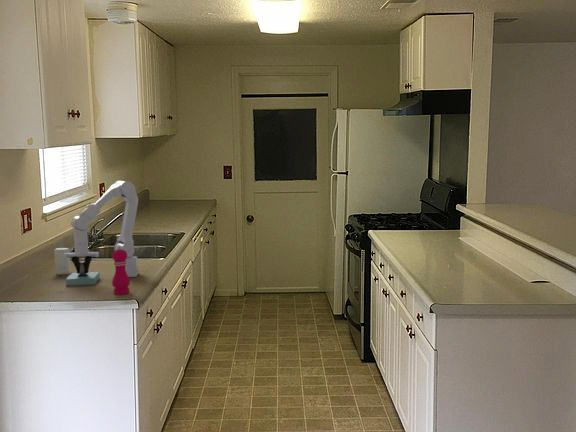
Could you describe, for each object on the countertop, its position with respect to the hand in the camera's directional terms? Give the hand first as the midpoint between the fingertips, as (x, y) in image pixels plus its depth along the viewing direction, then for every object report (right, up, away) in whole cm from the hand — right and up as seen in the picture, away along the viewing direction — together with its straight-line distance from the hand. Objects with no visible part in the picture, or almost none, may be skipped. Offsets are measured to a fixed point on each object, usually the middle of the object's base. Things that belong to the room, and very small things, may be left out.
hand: (82, 273), depth 280 cm
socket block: (0, -4, +1) cm, 4 cm away
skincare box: (-15, -2, +17) cm, 23 cm away
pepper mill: (+22, -7, -18) cm, 29 cm away
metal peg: (0, -3, 0) cm, 3 cm away
